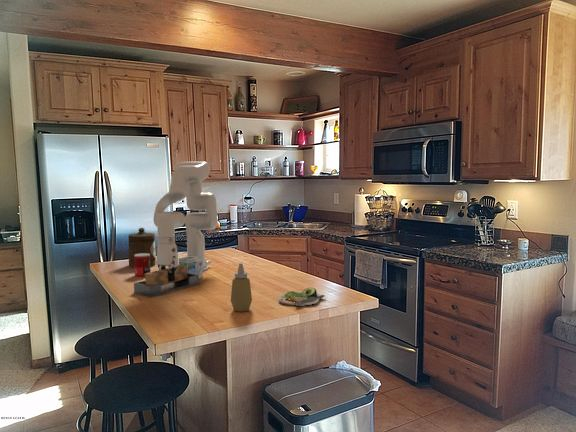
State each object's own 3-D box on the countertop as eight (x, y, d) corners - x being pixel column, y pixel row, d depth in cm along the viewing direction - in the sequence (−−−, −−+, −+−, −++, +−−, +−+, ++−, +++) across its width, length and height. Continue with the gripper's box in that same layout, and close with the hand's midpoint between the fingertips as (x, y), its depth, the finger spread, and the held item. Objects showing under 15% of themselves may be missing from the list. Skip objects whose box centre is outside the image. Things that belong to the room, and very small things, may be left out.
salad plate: (316, 311, 162) (316, 299, 162) (271, 307, 167) (271, 295, 167) (326, 297, 181) (326, 287, 180) (286, 294, 186) (285, 284, 185)
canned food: (145, 277, 218) (145, 256, 217) (131, 276, 219) (130, 255, 218) (153, 274, 225) (152, 253, 224) (139, 273, 227) (139, 252, 226)
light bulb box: (188, 281, 209) (187, 259, 208) (178, 279, 212) (178, 258, 211) (203, 277, 218) (203, 256, 217) (193, 275, 221) (193, 255, 220)
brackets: (182, 281, 209) (182, 272, 209) (199, 284, 202) (198, 275, 202) (133, 293, 187) (133, 282, 187) (150, 297, 180) (150, 286, 180)
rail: (180, 277, 205) (179, 264, 205) (187, 278, 203) (187, 265, 203) (145, 287, 186) (145, 273, 185) (153, 288, 184) (152, 274, 183)
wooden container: (159, 265, 247) (158, 228, 245) (132, 268, 238) (131, 229, 236) (151, 261, 259) (150, 225, 257) (126, 264, 250) (124, 227, 249)
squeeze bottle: (231, 307, 166) (230, 261, 165) (252, 306, 167) (251, 261, 166) (230, 313, 158) (229, 265, 157) (252, 312, 159) (251, 265, 158)
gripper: (185, 241, 191) (186, 281, 192) (161, 238, 201) (162, 276, 202) (171, 243, 185) (172, 284, 186) (147, 240, 195) (148, 279, 196)
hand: (167, 279), depth 194 cm, fingers closed on rail, 5 cm apart
